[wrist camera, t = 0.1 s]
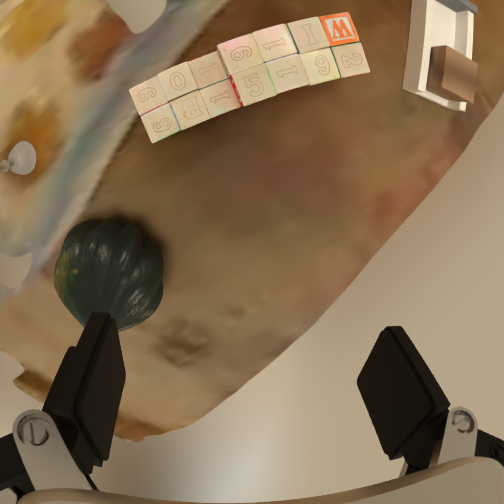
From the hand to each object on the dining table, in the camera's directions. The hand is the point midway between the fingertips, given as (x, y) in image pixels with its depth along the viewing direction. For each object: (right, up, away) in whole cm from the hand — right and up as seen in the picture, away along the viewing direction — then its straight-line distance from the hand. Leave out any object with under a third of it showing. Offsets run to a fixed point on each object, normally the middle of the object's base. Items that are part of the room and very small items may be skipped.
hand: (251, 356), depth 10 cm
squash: (-19, +3, +32) cm, 37 cm away
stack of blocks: (-1, +24, +23) cm, 33 cm away
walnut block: (+26, +28, +22) cm, 44 cm away
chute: (+26, +33, +21) cm, 47 cm away
